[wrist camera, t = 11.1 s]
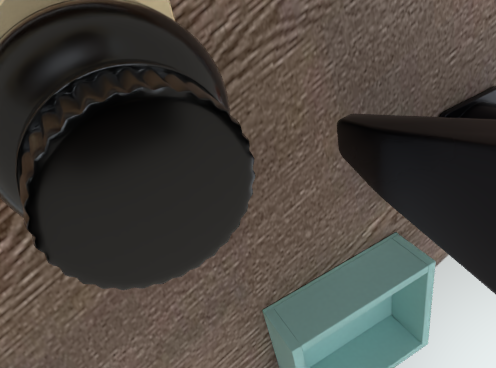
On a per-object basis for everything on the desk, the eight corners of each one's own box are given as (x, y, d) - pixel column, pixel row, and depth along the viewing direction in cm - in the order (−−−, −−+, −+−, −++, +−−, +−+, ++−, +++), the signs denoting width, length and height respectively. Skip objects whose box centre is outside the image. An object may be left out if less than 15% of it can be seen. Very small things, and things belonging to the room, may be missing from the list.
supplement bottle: (-62, 18, 15) (-180, 135, 5) (111, -51, 16) (249, -53, 7) (48, 165, 19) (87, 374, 10) (178, 99, 20) (321, 225, 11)
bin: (396, 231, 35) (436, 261, 32) (395, 313, 42) (428, 344, 39) (262, 310, 32) (291, 351, 28) (284, 385, 38) (310, 426, 35)
